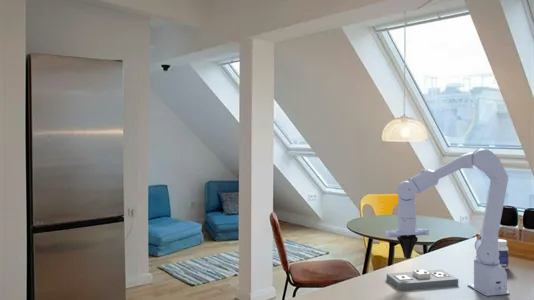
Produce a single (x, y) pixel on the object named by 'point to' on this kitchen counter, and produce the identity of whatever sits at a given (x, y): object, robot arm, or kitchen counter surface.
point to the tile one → (403, 277)
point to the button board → (422, 280)
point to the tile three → (439, 274)
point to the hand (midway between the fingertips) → (407, 257)
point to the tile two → (421, 274)
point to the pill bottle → (503, 253)
